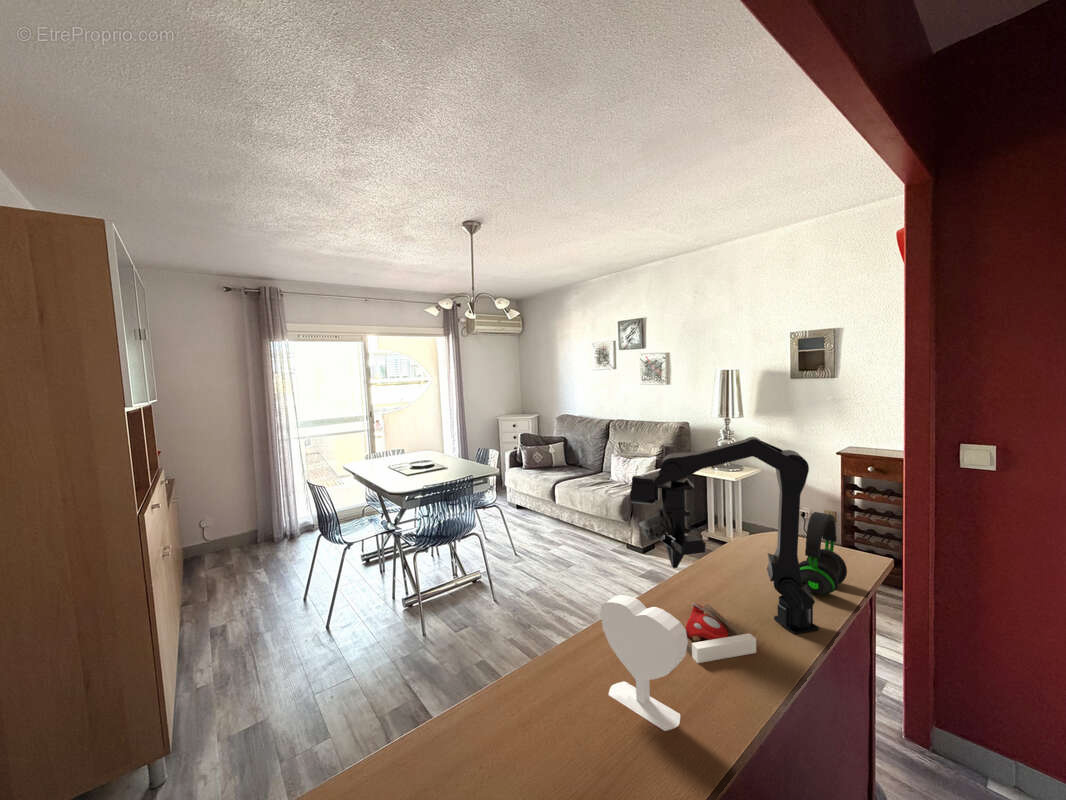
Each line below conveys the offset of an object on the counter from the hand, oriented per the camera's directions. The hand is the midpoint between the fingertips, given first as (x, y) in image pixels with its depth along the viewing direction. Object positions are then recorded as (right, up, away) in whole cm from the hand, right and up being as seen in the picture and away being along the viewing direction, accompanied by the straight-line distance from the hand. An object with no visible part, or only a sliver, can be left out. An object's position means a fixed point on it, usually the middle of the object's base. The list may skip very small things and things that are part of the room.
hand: (674, 567), depth 110 cm
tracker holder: (+4, -11, -9) cm, 15 cm away
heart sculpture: (-16, -13, -31) cm, 37 cm away
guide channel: (+3, -11, -10) cm, 15 cm away
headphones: (+41, -8, +7) cm, 42 cm away
